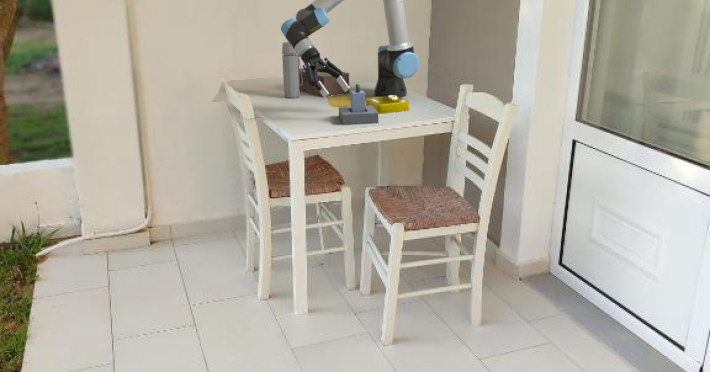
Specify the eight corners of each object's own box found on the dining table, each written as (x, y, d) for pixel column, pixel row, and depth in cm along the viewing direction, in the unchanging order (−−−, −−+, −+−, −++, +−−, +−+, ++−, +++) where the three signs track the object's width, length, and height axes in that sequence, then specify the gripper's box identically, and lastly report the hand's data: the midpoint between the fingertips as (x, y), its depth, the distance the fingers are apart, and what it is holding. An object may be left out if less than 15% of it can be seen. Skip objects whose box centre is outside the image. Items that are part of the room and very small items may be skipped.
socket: (372, 114, 272) (372, 105, 271) (378, 123, 259) (378, 113, 258) (338, 116, 271) (338, 106, 269) (343, 124, 258) (342, 114, 256)
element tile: (364, 107, 287) (364, 97, 285) (395, 104, 292) (395, 93, 290) (378, 115, 274) (378, 103, 272) (410, 111, 279) (410, 100, 277)
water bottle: (287, 99, 303) (285, 44, 295) (281, 96, 310) (278, 42, 302) (306, 97, 307) (304, 42, 299) (299, 94, 314) (297, 40, 306)
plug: (363, 115, 267) (362, 83, 263) (365, 117, 263) (364, 85, 258) (351, 115, 267) (350, 83, 262) (352, 118, 262) (352, 86, 258)
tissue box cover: (294, 89, 326) (294, 69, 322) (319, 86, 334) (318, 66, 330) (324, 98, 306) (323, 76, 303) (349, 94, 314) (349, 73, 311)
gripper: (322, 54, 283) (350, 93, 280) (282, 62, 264) (312, 104, 261) (331, 42, 278) (360, 81, 275) (292, 50, 259) (322, 92, 256)
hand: (337, 92), depth 268 cm, fingers open, 13 cm apart
